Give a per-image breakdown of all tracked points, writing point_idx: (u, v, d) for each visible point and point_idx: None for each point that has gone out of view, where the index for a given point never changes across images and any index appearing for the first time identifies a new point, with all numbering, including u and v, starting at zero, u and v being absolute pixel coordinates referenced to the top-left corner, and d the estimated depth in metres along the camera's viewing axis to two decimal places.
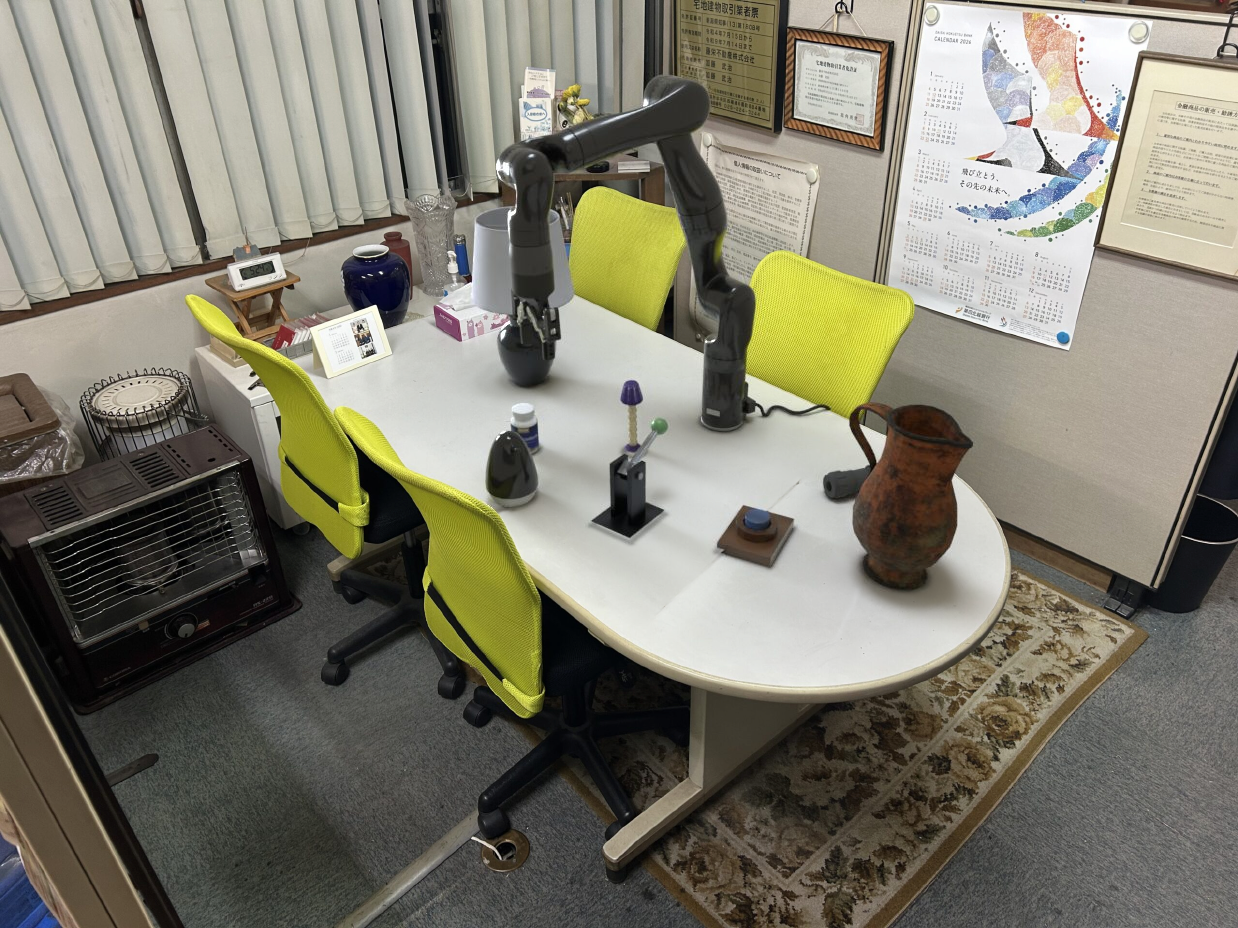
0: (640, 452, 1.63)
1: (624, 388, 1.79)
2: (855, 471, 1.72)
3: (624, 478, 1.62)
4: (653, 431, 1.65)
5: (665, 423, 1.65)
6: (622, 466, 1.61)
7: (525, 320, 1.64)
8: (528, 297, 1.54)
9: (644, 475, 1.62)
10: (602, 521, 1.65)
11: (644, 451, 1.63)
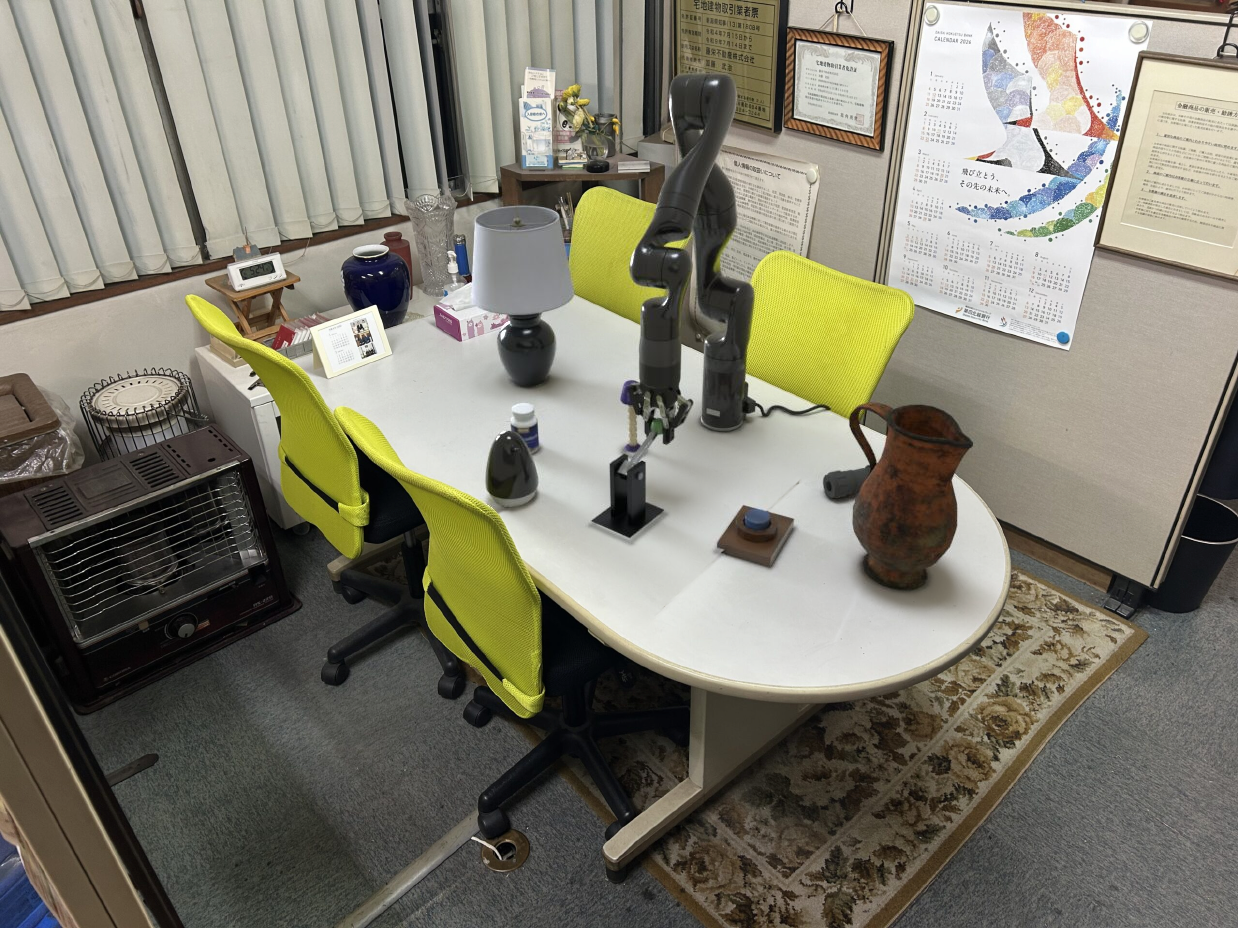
0: (640, 452, 1.63)
1: (624, 388, 1.79)
2: (855, 471, 1.72)
3: (624, 478, 1.62)
4: (653, 431, 1.65)
5: None
6: (622, 466, 1.61)
7: (651, 415, 1.66)
8: (664, 387, 1.57)
9: (644, 475, 1.62)
10: (602, 521, 1.65)
11: (644, 451, 1.63)
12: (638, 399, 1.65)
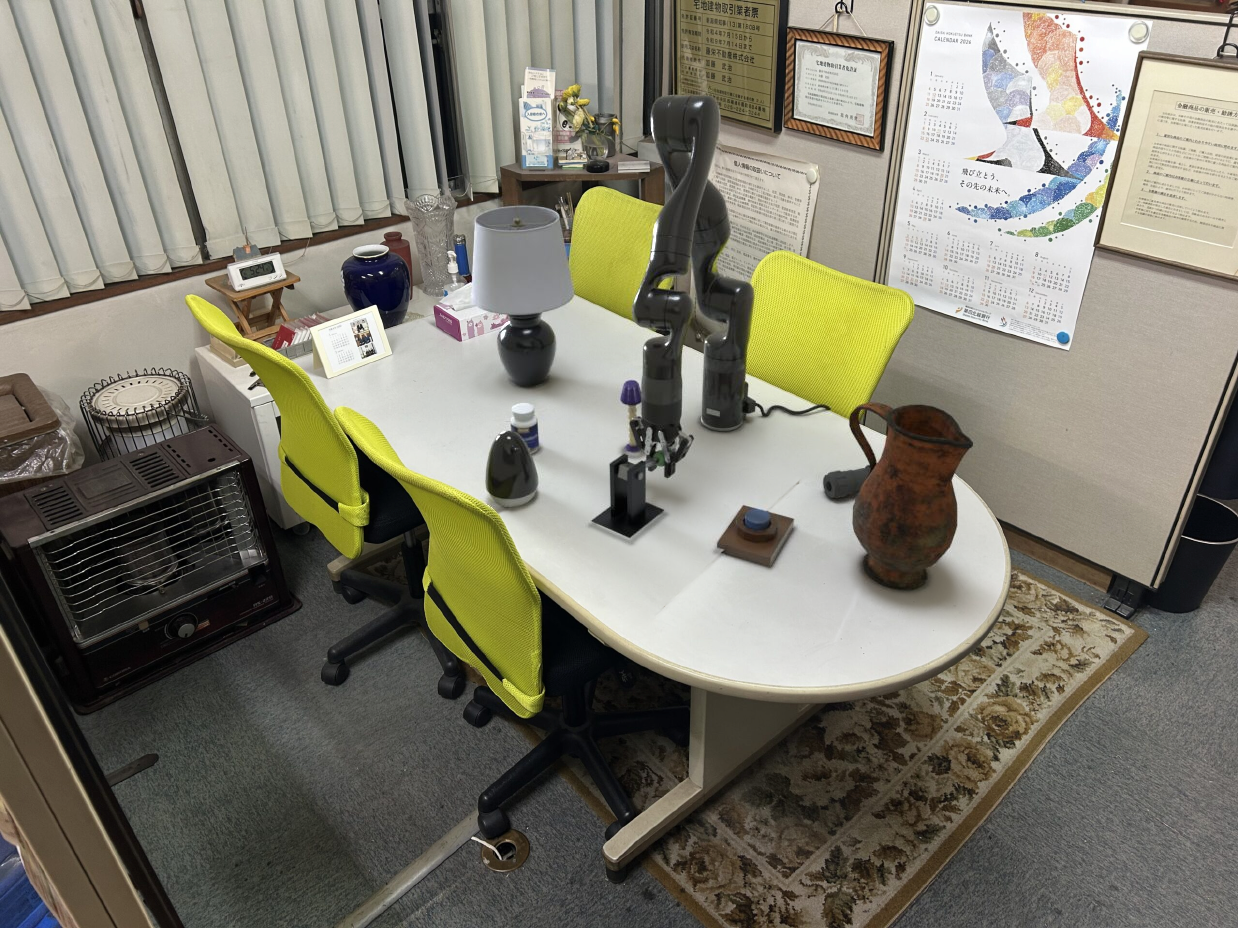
0: None
1: (624, 388, 1.79)
2: (855, 471, 1.72)
3: (623, 475, 1.61)
4: (656, 457, 1.69)
5: None
6: (625, 463, 1.62)
7: (653, 449, 1.70)
8: (665, 423, 1.62)
9: (644, 475, 1.62)
10: (602, 521, 1.65)
11: None
12: (640, 433, 1.70)
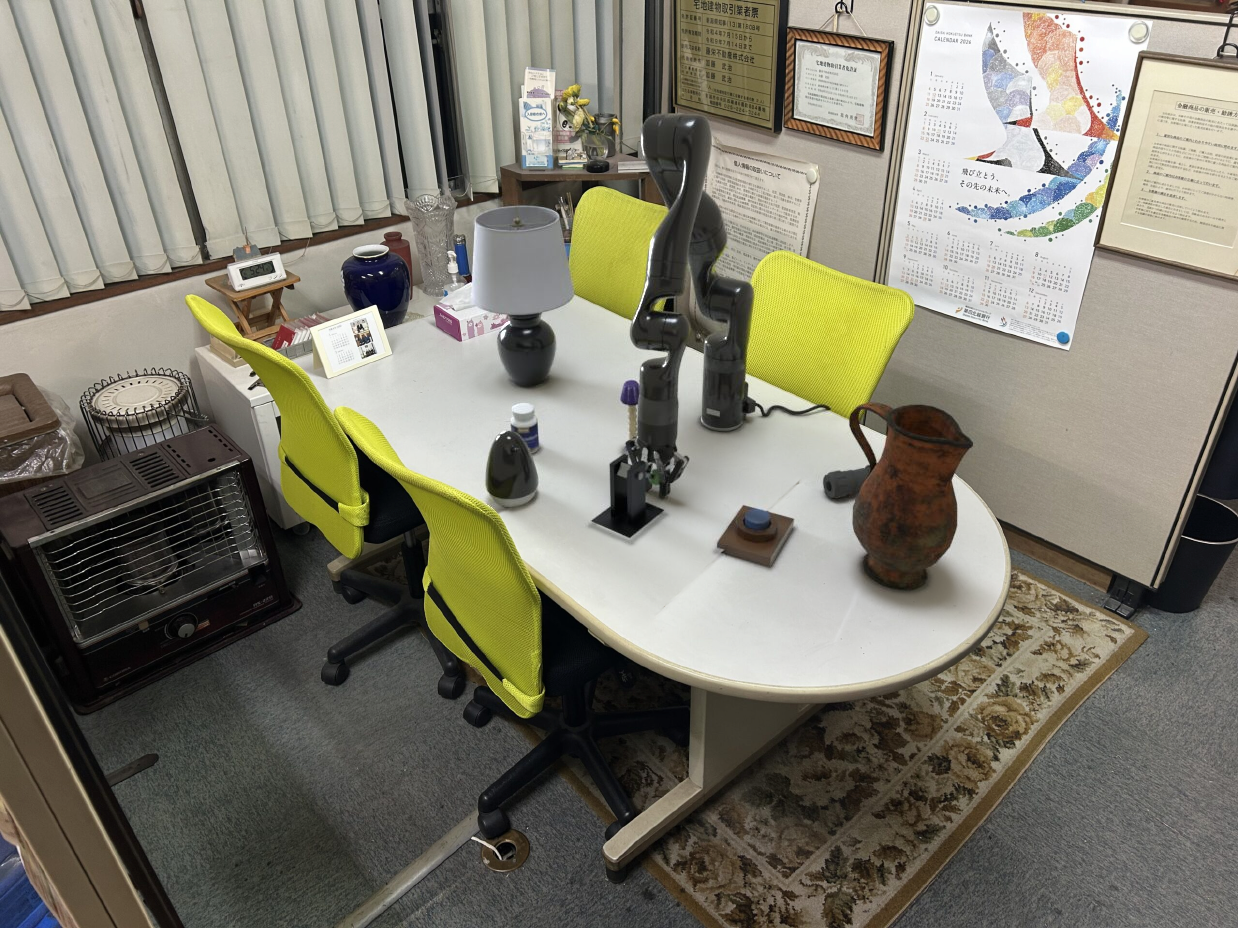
0: None
1: (624, 388, 1.79)
2: (855, 471, 1.72)
3: (623, 472, 1.61)
4: (652, 473, 1.70)
5: None
6: (626, 463, 1.62)
7: (648, 470, 1.71)
8: (661, 444, 1.63)
9: (644, 475, 1.62)
10: (602, 521, 1.65)
11: None
12: (636, 454, 1.71)
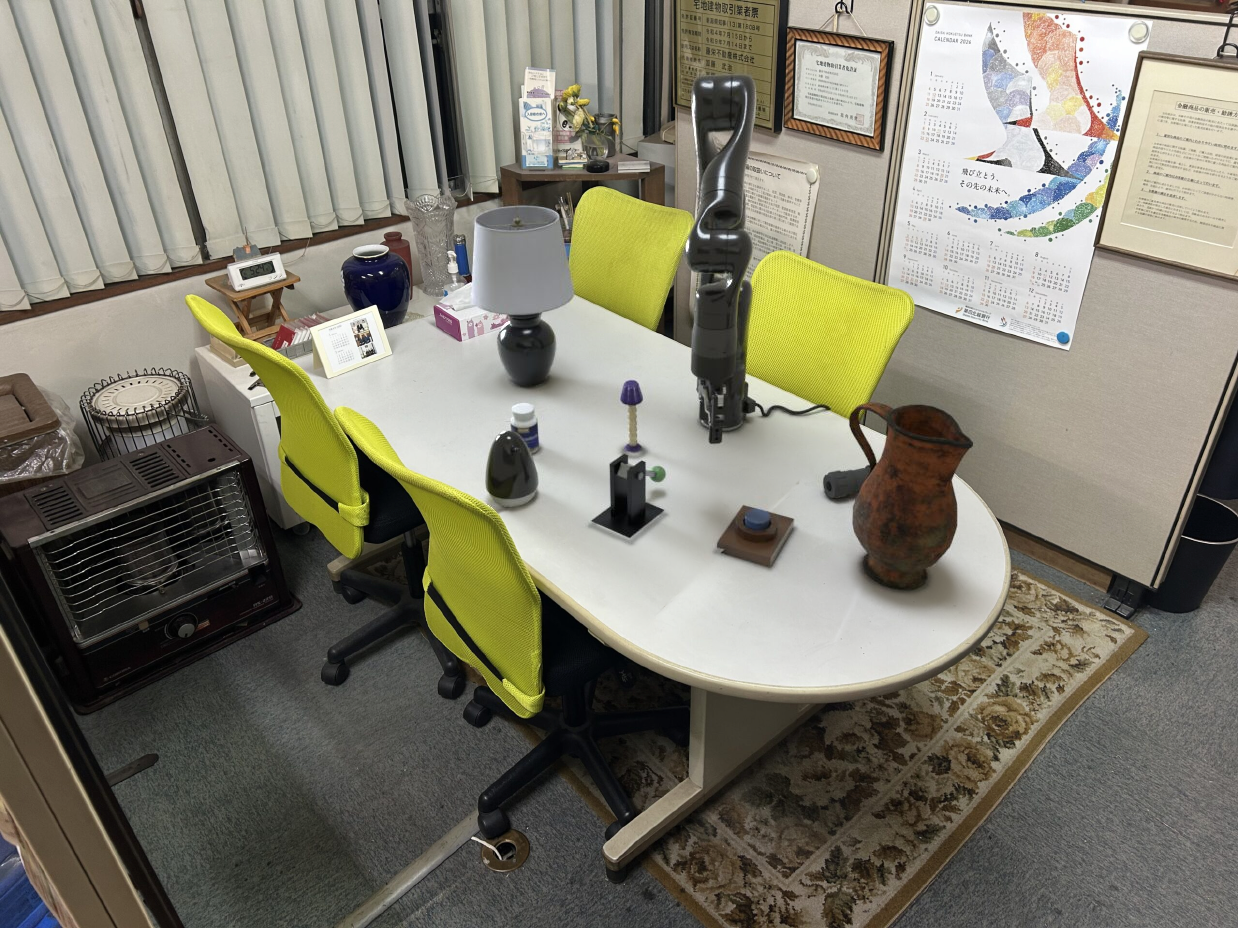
0: None
1: (624, 388, 1.79)
2: (855, 471, 1.72)
3: (623, 473, 1.61)
4: (653, 471, 1.70)
5: (665, 472, 1.71)
6: (626, 463, 1.62)
7: None
8: (701, 378, 1.49)
9: (644, 475, 1.62)
10: (602, 521, 1.65)
11: None
12: None
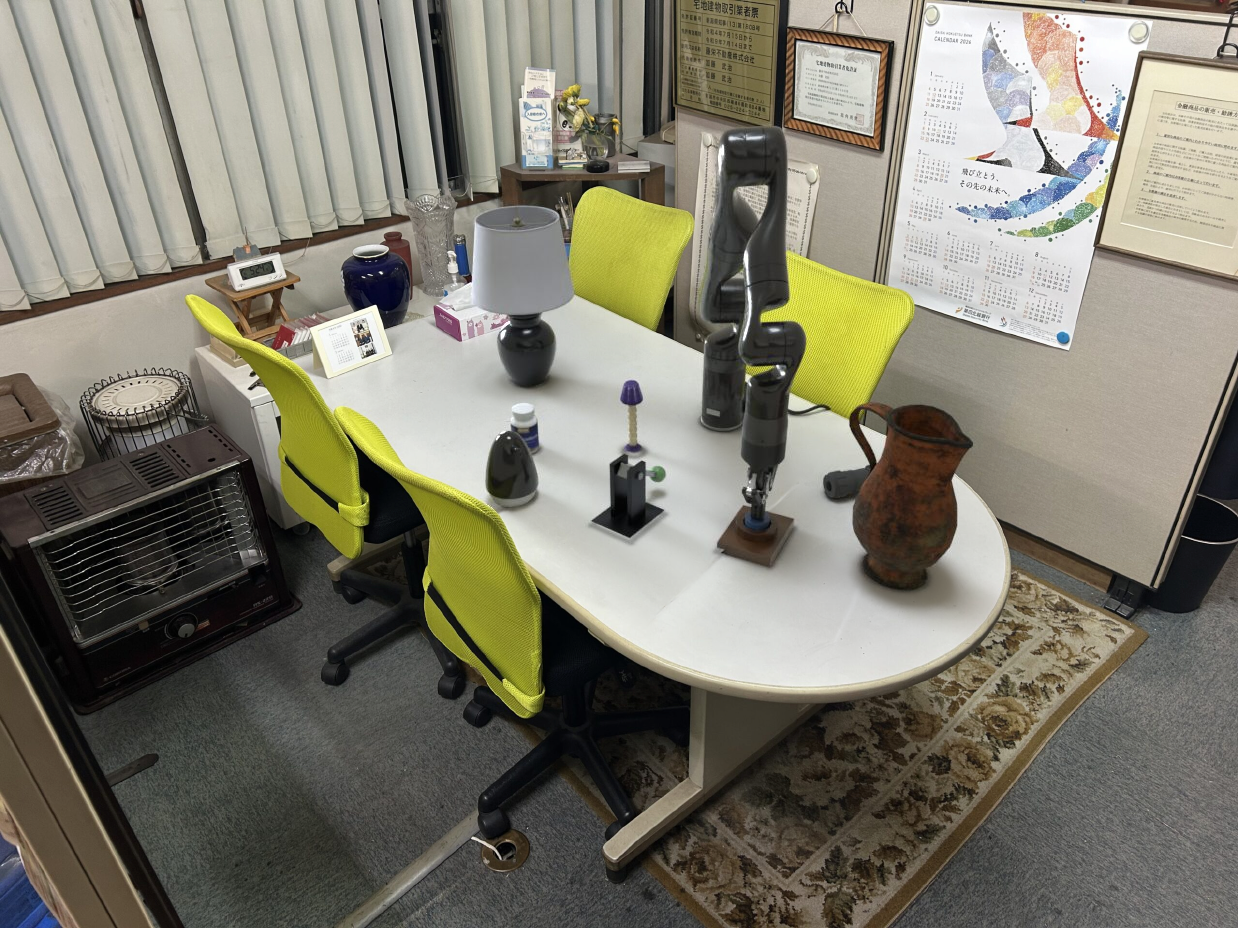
0: None
1: (624, 388, 1.79)
2: (855, 471, 1.72)
3: (623, 473, 1.61)
4: (653, 471, 1.70)
5: (665, 472, 1.71)
6: (626, 463, 1.62)
7: (759, 494, 1.57)
8: (743, 459, 1.51)
9: (644, 475, 1.62)
10: (602, 521, 1.65)
11: None
12: None
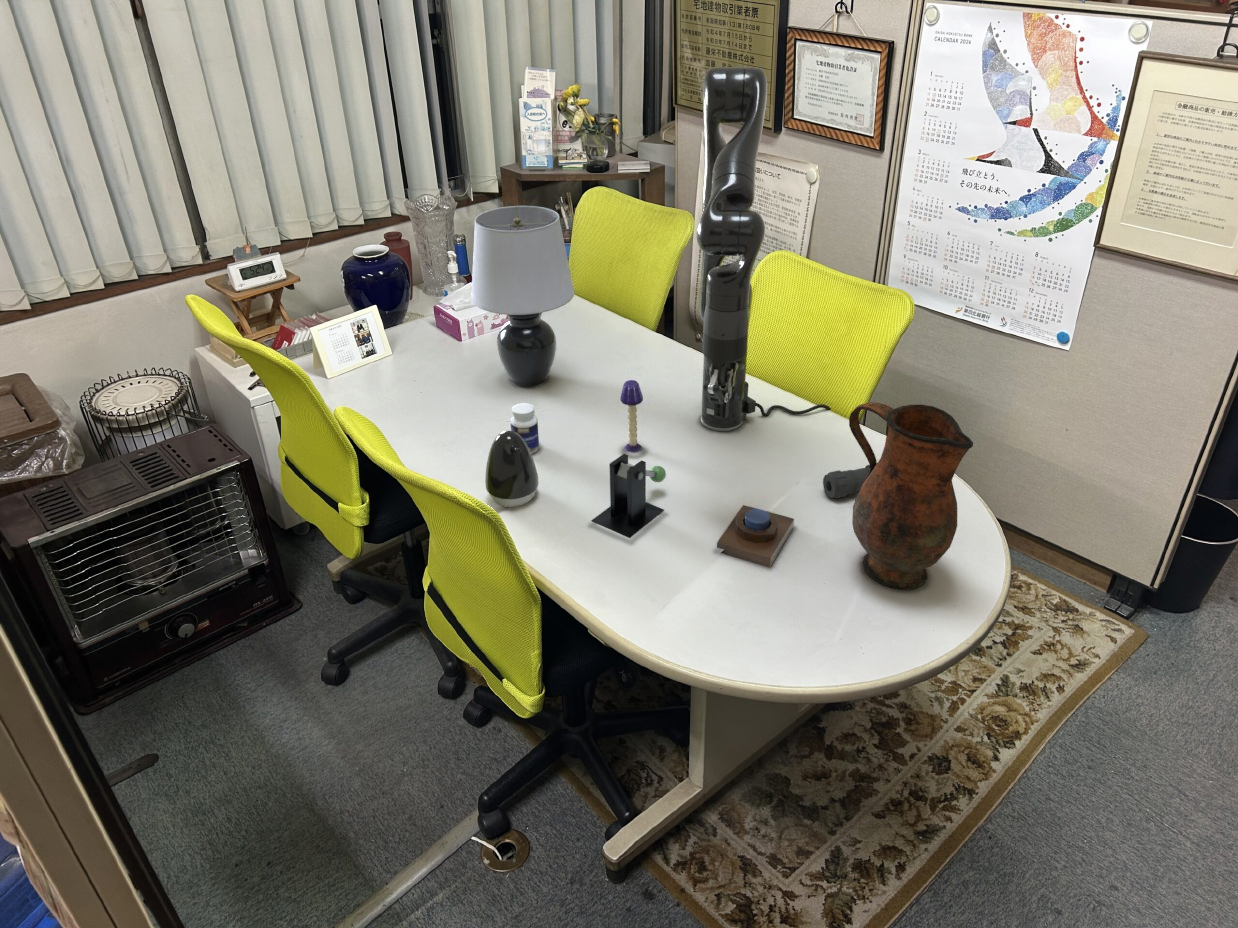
0: None
1: (624, 388, 1.79)
2: (855, 471, 1.72)
3: (623, 473, 1.61)
4: (653, 471, 1.70)
5: (665, 472, 1.71)
6: (626, 463, 1.62)
7: None
8: (705, 355, 1.51)
9: (644, 475, 1.62)
10: (602, 521, 1.65)
11: None
12: None
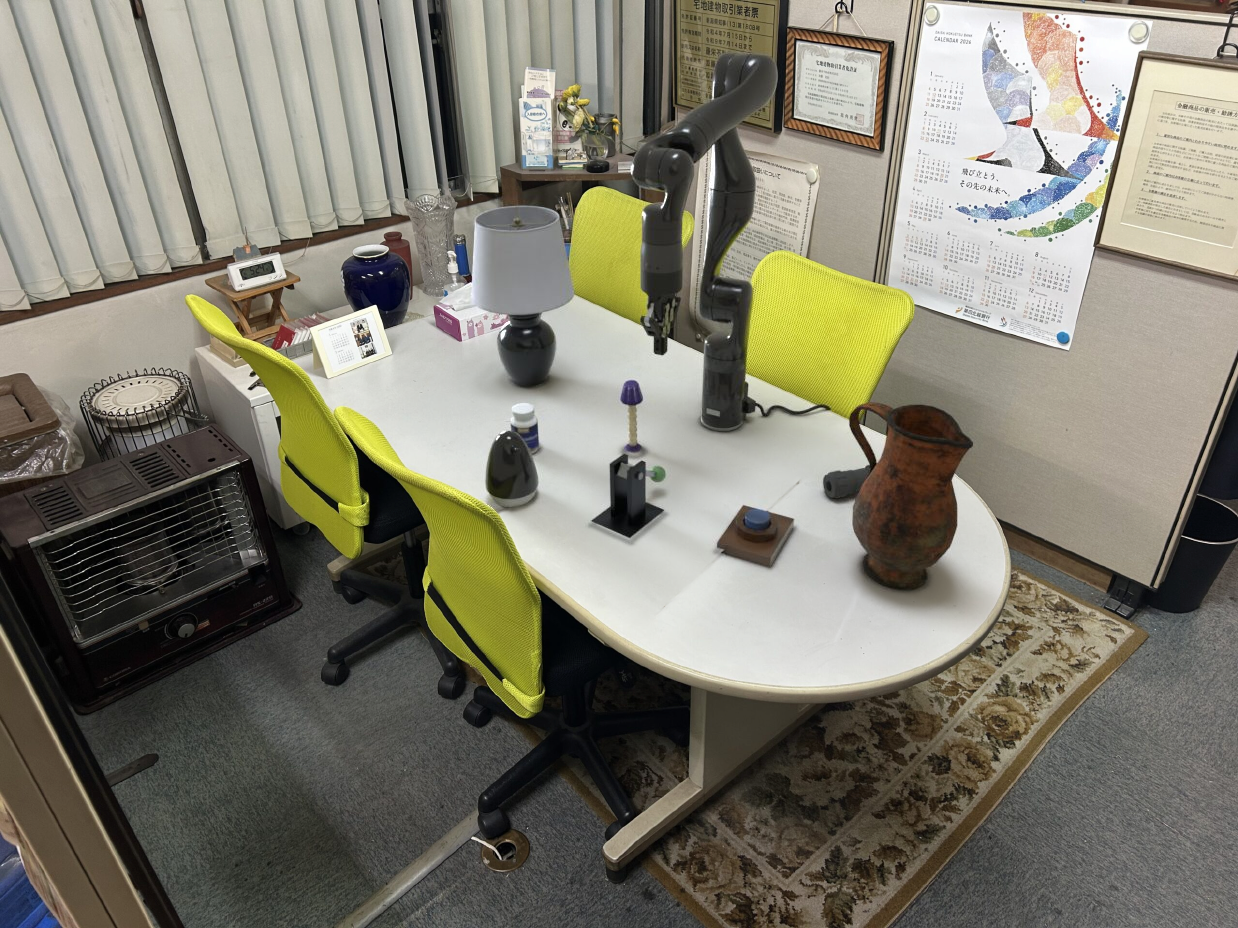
0: None
1: (624, 388, 1.79)
2: (855, 471, 1.72)
3: (623, 473, 1.61)
4: (653, 471, 1.70)
5: (665, 472, 1.71)
6: (626, 463, 1.62)
7: (661, 329, 1.64)
8: (642, 290, 1.59)
9: (644, 475, 1.62)
10: (602, 521, 1.65)
11: None
12: None
